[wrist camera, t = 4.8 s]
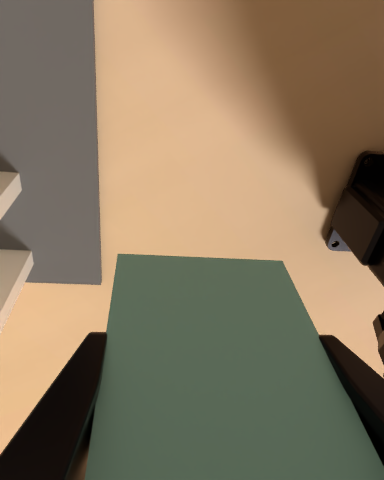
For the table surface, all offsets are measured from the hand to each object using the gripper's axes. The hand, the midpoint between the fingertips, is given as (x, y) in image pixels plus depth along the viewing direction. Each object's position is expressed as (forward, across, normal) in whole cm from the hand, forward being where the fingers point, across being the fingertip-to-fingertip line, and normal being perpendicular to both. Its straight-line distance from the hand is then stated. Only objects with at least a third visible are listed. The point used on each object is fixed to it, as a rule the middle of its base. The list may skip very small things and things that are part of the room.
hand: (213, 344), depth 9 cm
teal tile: (+3, 0, 0) cm, 3 cm away
